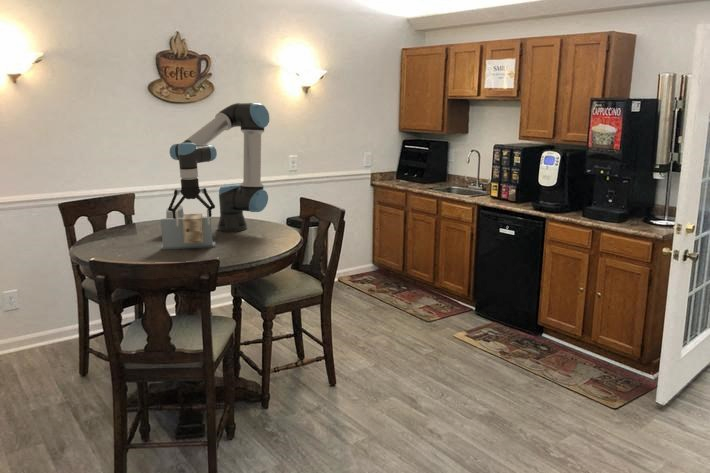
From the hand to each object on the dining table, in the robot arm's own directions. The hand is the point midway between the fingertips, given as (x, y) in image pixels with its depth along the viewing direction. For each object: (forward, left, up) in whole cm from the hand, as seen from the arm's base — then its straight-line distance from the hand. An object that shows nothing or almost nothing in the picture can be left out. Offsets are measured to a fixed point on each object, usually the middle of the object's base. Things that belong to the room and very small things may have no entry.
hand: (193, 224), depth 263 cm
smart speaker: (+11, -35, -12) cm, 39 cm away
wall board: (+3, -6, -12) cm, 14 cm away
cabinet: (0, -2, -7) cm, 8 cm away
